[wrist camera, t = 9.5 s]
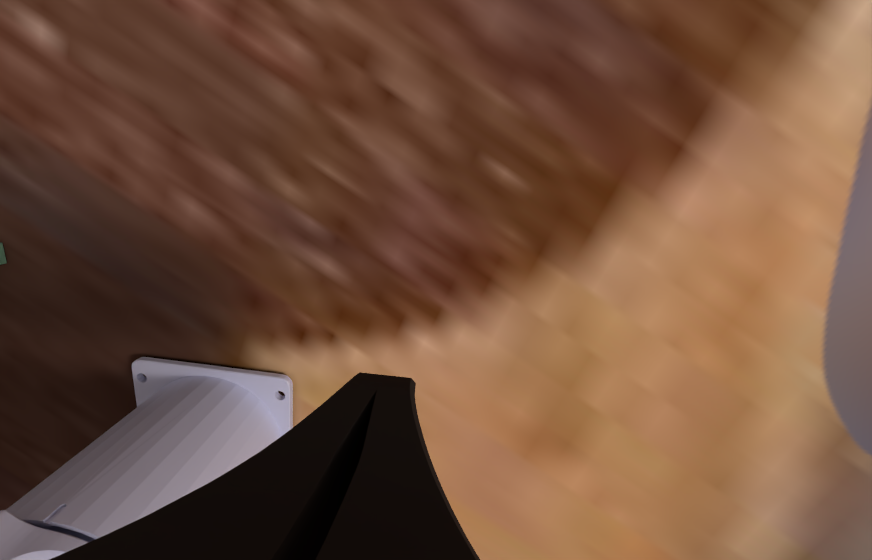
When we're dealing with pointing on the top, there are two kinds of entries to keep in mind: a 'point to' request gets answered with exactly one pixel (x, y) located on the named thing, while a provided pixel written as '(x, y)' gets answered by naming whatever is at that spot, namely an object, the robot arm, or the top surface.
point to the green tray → (2, 255)
